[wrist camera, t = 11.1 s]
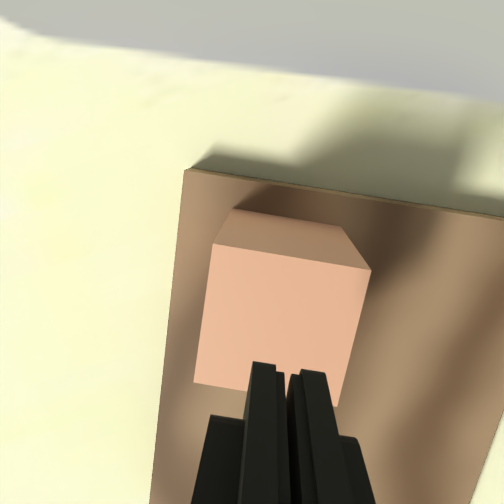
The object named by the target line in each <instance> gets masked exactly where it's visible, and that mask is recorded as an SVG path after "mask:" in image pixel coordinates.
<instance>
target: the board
mask: <svg viewBox="0 0 504 504" xmlns="http://www.w3.org/2000/svg"><path fill="white" fill-rule="evenodd" d="M232 208H234V209H240V210H246V211H252V212H258V213H264V214H270V215H275V216H281V217H287V218H293V219H299V220H305V221H311V222H317V223H323V224H329V225H335V226H341V228H342V229H343V230H344V232H345V233H346V235H347V236H348V238H349V239H350V240H351V242H352V243H353V245H354V246H355V248H356V249H357V250H358V252H359V253H360V255H361V256H362V257H363V259H364V260H365V262H366V263H367V265H368V266H369V267H370V269H371V270H372V271H371V275H370V279H369V283H368V286H367V290H366V294H365V298H364V302H363V306H362V310H361V314H360V318H359V322H358V326H357V330H356V334H355V338H354V342H353V346H352V350H351V354H350V358H349V362H348V366H347V370H346V374H345V378H344V381H343V385H342V389H341V393H340V397H339V401H338V405H337V407H335V406H333V409H334V414H335V418H336V423H337V427H338V432H339V435H344V436H350V437H355V438H356V439H358V442H359V444H360V448H361V451H362V455H363V458H364V462H365V466H366V469H367V473H368V476H369V480H370V484H371V487H372V491H373V494H374V498H375V502H376V504H469V503H470V500H471V497H472V495H473V492H474V489H475V487H476V484H477V481H478V478H479V476H480V473H481V470H482V468H483V465H484V462H485V459H486V457H487V454H488V451H489V449H490V446H491V443H492V440H493V438H494V435H495V432H496V430H497V427H498V424H499V421H500V419H501V416H502V413H503V411H504V217H499V216H493V215H486V214H480V213H474V212H467V211H461V210H455V209H448V208H442V207H436V206H429V205H423V204H417V203H410V202H404V201H398V200H391V199H385V198H379V197H372V196H366V195H360V194H353V193H347V192H341V191H334V190H328V189H322V188H315V187H309V186H303V185H296V184H290V183H284V182H277V181H271V180H265V179H258V178H252V177H246V176H239V175H233V174H227V173H220V172H214V171H208V170H201V169H195V168H189V169H186V170H184V176H183V186H182V195H181V205H180V214H179V224H178V233H177V243H176V253H175V262H174V272H173V281H172V291H171V300H170V310H169V319H168V329H167V338H166V348H165V357H164V367H163V376H162V386H161V395H160V405H159V414H158V424H157V434H156V443H155V453H154V462H153V472H152V481H151V491H150V500H149V504H191V500H192V495H193V491H194V486H195V482H196V477H197V473H198V468H199V464H200V459H201V454H202V450H203V445H204V441H205V436H206V432H207V427H208V423H209V418H210V415H211V414H213V415H219V416H225V417H231V418H238V419H243V414H244V408H245V402H246V396H247V391H241V390H235V389H229V388H223V387H217V386H211V385H205V384H200V383H194V382H193V381H194V374H195V367H196V360H197V353H198V346H199V339H200V331H201V324H202V317H203V310H204V303H205V296H206V289H207V282H208V274H209V267H210V260H211V253H212V246H213V242H214V240H215V239H216V237H217V235H218V233H219V231H220V229H221V228H222V226H223V224H224V222H225V220H226V218H227V217H228V215H229V213H230V211H231V209H232Z"/></svg>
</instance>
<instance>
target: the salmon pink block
mask: <svg viewBox="0 0 504 504" xmlns="http://www.w3.org/2000/svg"><path fill="white" fill-rule="evenodd" d="M371 271H372V270H371V269H370V267H369V266H368V265H367V263H366V262H365V260H364V259H363V257H362V256H361V255H360V253H359V252H358V250H357V249H356V248H355V246H354V245H353V243H352V242H351V240H350V239H349V238H348V236H347V235H346V233H345V232H344V230H343V229H342V228H341V226H335V225H329V224H323V223H317V222H311V221H305V220H299V219H293V218H287V217H281V216H275V215H270V214H264V213H258V212H252V211H246V210H240V209H234V208H232V209H231V211H230V213H229V215H228V217H227V218H226V220H225V222H224V224H223V226H222V228H221V229H220V231H219V233H218V235H217V237H216V239H215V240H214V242H213V246H212V253H211V260H210V267H209V274H208V282H207V289H206V296H205V303H204V310H203V317H202V324H201V331H200V339H199V346H198V353H197V360H196V367H195V374H194V381H193V382H194V383H200V384H205V385H211V386H217V387H223V388H229V389H235V390H241V391H247V390H248V385H249V379H250V373H251V367H252V362H253V361H257V362H263V363H269V364H276V371H279V372H284V374H285V393H286V395H287V390H288V385H289V380H290V376H291V374H298V375H299V372H300V370H301V369H307V370H313V371H320V372H325V374H326V377H327V382H328V386H329V391H330V395H331V400H332V404H333V406H335V407H337V405H338V401H339V397H340V393H341V389H342V385H343V381H344V378H345V374H346V370H347V366H348V362H349V358H350V354H351V350H352V346H353V342H354V338H355V334H356V330H357V326H358V322H359V318H360V314H361V310H362V306H363V302H364V298H365V294H366V290H367V286H368V283H369V279H370V275H371Z"/></svg>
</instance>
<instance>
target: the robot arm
mask: <svg viewBox="0 0 504 504" xmlns="http://www.w3.org/2000/svg"><path fill="white" fill-rule="evenodd" d="M191 504H376V502H375V498H374V494H373V491H372V487H371V484H370V480H369V476H368V473H367V469H366V466H365V462H364V458H363V455H362V451H361V448H360V444H359V442H358V439H356V438H355V437H350V436H344V435H339V432H338V427H337V423H336V418H335V414H334V409H333V404H332V400H331V395H330V391H329V386H328V382H327V377H326V374H325V372H320V371H313V370H307V369H301V370H300V372H299V375H298V374H291V376H290V380H289V385H288V390H287V395H286V393H285V374H284V372H279V371H276V364H269V363H263V362H257V361H253V362H252V367H251V373H250V379H249V385H248V390H247V396H246V402H245V408H244V414H243V419H238V418H231V417H225V416H219V415H213V414H211V415H210V418H209V423H208V427H207V432H206V436H205V441H204V445H203V450H202V454H201V459H200V464H199V468H198V473H197V477H196V482H195V486H194V491H193V495H192V500H191Z"/></svg>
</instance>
